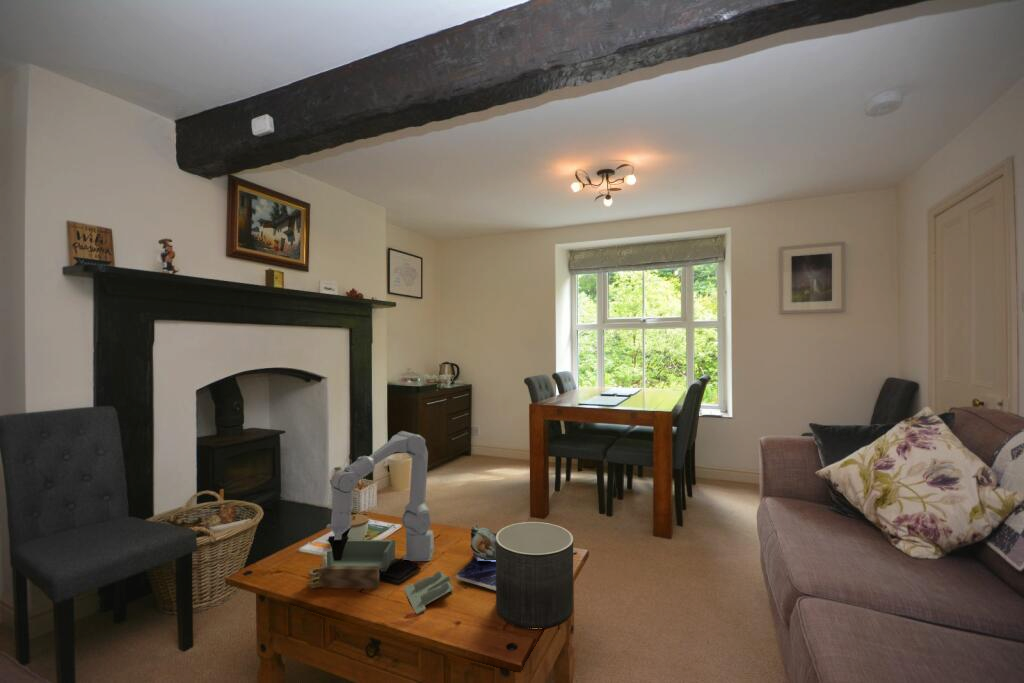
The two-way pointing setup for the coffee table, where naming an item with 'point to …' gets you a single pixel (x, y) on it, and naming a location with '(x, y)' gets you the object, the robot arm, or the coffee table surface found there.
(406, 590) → the metal bracket
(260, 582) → the coffee table surface
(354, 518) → the lidded jar
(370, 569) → the brown gear-headed lever
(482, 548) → the lucky cat figurine
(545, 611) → the planter
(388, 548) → the sage green open box
